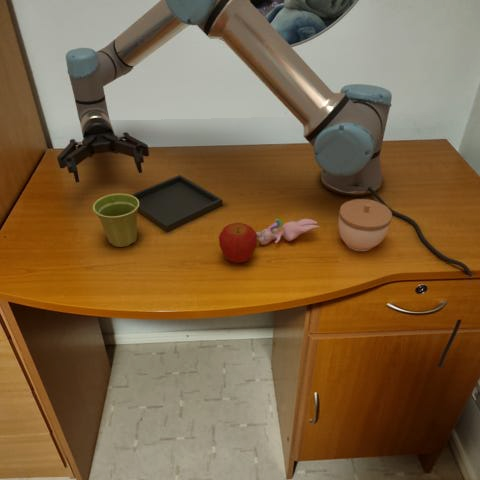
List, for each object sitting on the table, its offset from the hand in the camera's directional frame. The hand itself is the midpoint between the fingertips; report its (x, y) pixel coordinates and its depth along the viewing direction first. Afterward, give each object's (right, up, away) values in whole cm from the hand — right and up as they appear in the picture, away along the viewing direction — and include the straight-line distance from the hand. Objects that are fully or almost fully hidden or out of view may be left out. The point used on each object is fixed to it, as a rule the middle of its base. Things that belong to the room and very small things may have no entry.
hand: (108, 171), depth 104 cm
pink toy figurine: (+38, -15, +2) cm, 41 cm away
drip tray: (+13, -4, +12) cm, 18 cm away
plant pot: (+3, -15, +1) cm, 15 cm away
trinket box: (+54, -16, +1) cm, 57 cm away
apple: (+28, -19, -3) cm, 34 cm away
